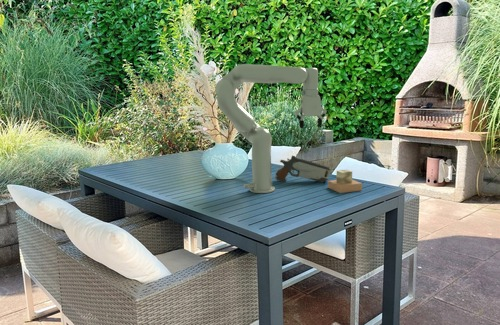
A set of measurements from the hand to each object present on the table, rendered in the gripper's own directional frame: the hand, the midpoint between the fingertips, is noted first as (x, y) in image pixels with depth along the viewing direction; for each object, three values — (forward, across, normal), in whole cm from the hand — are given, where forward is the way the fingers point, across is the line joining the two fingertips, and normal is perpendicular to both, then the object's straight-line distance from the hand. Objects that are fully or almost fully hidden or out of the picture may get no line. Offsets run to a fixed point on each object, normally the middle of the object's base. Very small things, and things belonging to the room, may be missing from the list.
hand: (310, 127), depth 215 cm
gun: (+31, 0, +11) cm, 32 cm away
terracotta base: (+31, +12, -13) cm, 35 cm away
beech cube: (+27, +12, -13) cm, 32 cm away
